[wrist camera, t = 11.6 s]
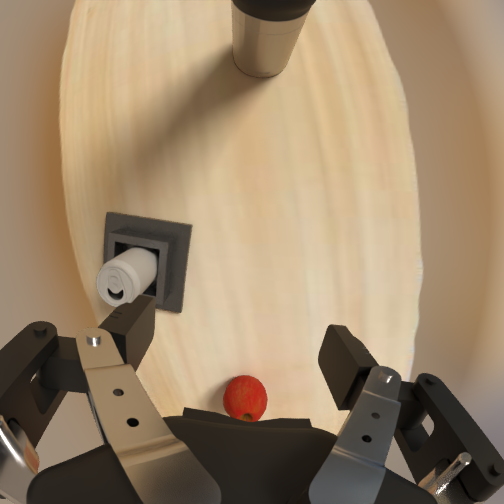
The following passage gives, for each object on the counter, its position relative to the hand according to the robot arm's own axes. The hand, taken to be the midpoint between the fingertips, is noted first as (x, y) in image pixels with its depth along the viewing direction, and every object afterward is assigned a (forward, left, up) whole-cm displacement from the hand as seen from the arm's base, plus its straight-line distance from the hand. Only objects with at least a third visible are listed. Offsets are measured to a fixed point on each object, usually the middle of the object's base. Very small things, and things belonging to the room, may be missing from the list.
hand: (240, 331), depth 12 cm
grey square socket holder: (+8, -15, -32) cm, 36 cm away
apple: (+30, +6, -32) cm, 44 cm away
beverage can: (+8, -15, -31) cm, 35 cm away
